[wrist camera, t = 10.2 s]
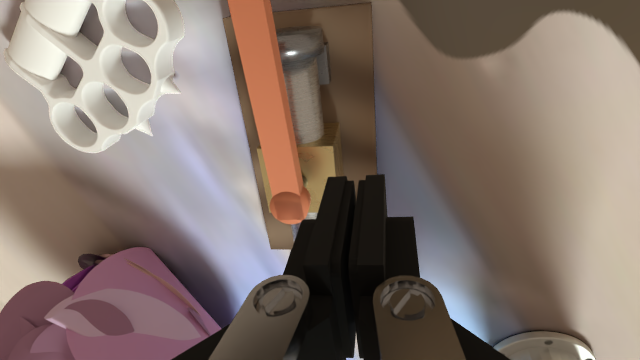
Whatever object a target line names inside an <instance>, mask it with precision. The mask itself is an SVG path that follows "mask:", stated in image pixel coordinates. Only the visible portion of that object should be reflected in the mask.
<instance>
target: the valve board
mask: <svg viewBox="0 0 640 360" xmlns="http://www.w3.org/2000/svg"><path fill="white" fill-rule="evenodd" d="M272 13H273V19H274V24H275V29H279V28H286V27H296V26H320V27H322V33H323V43H325V42H328V44H329V55H330V67H331V78H332V80H331V82H330V84H323V85H320V94H321V104H322V114H323V123H335V122H339V123H340V135H341V147H342V160H343V172H344V176H347V180H348V181H353V180H354V185H355V194H356V199H357V191H358V183H359V180H365V179H366V175H377V157H376V127H375V97H374V67H373V36H372V6H371V2H370V3H360V4H350V5H340V6H330V7H320V8H310V9H300V10H290V11H280V12H272ZM223 23H224V27H225V32H226V37H227V42H228V47H229V51H230V56H231V61H232V66H233V70H234V75H235V80H236V85H237V90H238V94H239V99H240V104H241V109H242V113H243V118H244V123H245V128H246V132H247V137H248V142H249V147H250V152H251V156H252V161H253V166H254V171H255V175H256V180H257V185H258V190H259V195H260V199H261V204H262V209H263V214H264V218H265V223H266V228H267V233H268V238H269V242H270V247H271V249H292V247H293V244H294V240H293V235H292V229H291V224H285V223H282V222H280V221H279V220H277V219H276V218H275V217H274V216H273V215H272V213H269V208H268V203H267V198H266V193H265V188H264V183H263V178H262V173H261V168H260V163H259V158H258V153H257V148H258V146H259V145H260V140H259V136H258V131H257V127H256V123H255V118H254V114H253V110H252V105H251V101H250V97H249V92H248V88H247V83H246V79H245V75H244V70H243V66H242V62H241V57H240V53H239V49H238V44H237V40H236V35H235V31H234V27H233V22H232V18H231V16H230V17H226V18H223Z"/></svg>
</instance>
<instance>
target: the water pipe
mask: <svg viewBox="0 0 640 360" xmlns="http://www.w3.org/2000/svg"><path fill="white" fill-rule="evenodd" d="M275 30H276V35H277V41H278V47H279V52H280V58H281V63H282V69H283V74H284V80H285V85H286V91H287V96H288V102H289V108H290V113H291V119H292V124H293V130H294V135H295V141H296V146H297V152H298V157H299V163H300V169H301V174H302V180H303V185H304V187H305V188H306V189H307V190H308V191H309V193H310V195H311V204H310V207H309V210H308V214H307V216H306V218H305V219H316V217H317V213H318V210H319V206H320V203H321V199H322V196H323V192H324V189H325V185H326V182H327V178H328V177H337V176H344V172H343V160H342V147H341V135H340V123H339V122H335V123H323V114H322V104H321V94H320V85H323V84H330V82H331V80H332V78H331V67H330V55H329V44H328V42H325V43H323V33H322V27H320V26H296V27H286V28H279V29H275ZM257 153H258V158H259V163H260V168H261V173H262V178H263V183H264V188H265V193H266V198H267V203H268V208H269V213H271V211H270V201H271V199H272V192H271V188H270V184H269V179H268V175H267V171H266V166H265V162H264V158H263V153H262V149H261V144H260V145H259V146H258V148H257ZM300 224H301V222H300V223H297V224H291V229H292V235H293V240H294V241H295V238H296V235H297V232H298V230H299V227H300ZM290 253H291V252H290Z"/></svg>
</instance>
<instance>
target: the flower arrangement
mask: <svg viewBox="0 0 640 360" xmlns="http://www.w3.org/2000/svg"><path fill="white" fill-rule="evenodd" d="M78 263H79V265H80V267H81V268H83V269H84V270H82V271H80V272H79V273H77V274H75V275H74V276H72V277H71V278H69V279H67V280H66V281H65V282H64V283H63V284H60V283H57V282H51V281H41V282H36V283H32V284H30V285H27V286H26V287H24V288H23V289H21V290H20V291H19V292H18V293H17V294H15V295H14V296H13V297H12V298H11V299H10V300H9V302H8V303H7V304H6V305H5V306H4V308H3V309H2V311H1V313H0V360H171V359H173V358H174V357H176V356H178V355H179V354H181V353H183V352H184V351H186V350H188V349H189V348H191V347H193V346H194V345H196V344H198V343H199V342H201V341H203V340H204V339H206V338H207V337H209V336H211V335H212V334H214V333H216V332H217V331H219V330H221V328H220V326H219V325H218V324H217V323H216V322H215V321H214V320H213V319H212V317H211V316H210V315H209V314H208V313H207V312H206V311H205V310H204V308H203V307H202V306H201V305H200V304H199V303H198V302H197V301H196V300H195V298H194V297H193V296H192V295H191V294H190V293H189V292H188V291H187V289H186V288H185V287H184V286H183V285H182V284H181V283H180V282H179V280H178V279H177V278H176V277H175V276H174V275H173V274H172V273H171V271H170V270H169V269H168V268H167V267H166V266H165V265H164V264H163V262H162V261H161V260H160V259H159V258H158V257H157V256H156V255H155V253H154V252H153V251H152V250H151V249H150V248H147V247H134V248H130V249H126V250H123V251H120V252H118V253H116V254H114V255H111V254H101V255H93V254H83V255H81V256H80V257H79V259H78Z"/></svg>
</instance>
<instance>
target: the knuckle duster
mask: <svg viewBox="0 0 640 360" xmlns="http://www.w3.org/2000/svg"><path fill="white" fill-rule="evenodd" d="M143 1H144V2H146V3H147V4H148V5H149V6H150V8H151V9H152V10H153V12H154V14H155V16H156V19H157V24H158V32H157V36H156V38H155V39H152V38H150V37H148V36H146V35H143V34H141V33H140V32H138V31H137V30H136V29H135V28H134V27H133V26H132V25H131V23H130V22H129V20H128V18H127V15H126V9H125V5H126V0H25V2H22V3H21V4H20V7H19V8H20V10H21V13H20V16H19V19H18V21H17V24H16V27H15V30H14V33H13V35H12V38H11V41H10V44H9V47H8V48H6V49H5V50H4V53H3V54H4V56H5V61H6V63H7V64H8V66H9V67H10V68H11V69H12V70H13V71H14V72H15V73H16V74H18V75H19V76H21V77H22V78H23V79H24V80H26V81H27V82H28V83H30V84H31V85H32V86H34V87H35V88H37V89H38V90H39V91H41V93H42V94H43V96H44V98H45V99H46V101H47V103H48V105H49V117H50V121H51V123H52V126H53V128H54V129H55V131H56V132H57V134H58V135H59V136H60V137H61V138H62V139H63V140H64V141H65V142H66V143H67V144H69V145H70V146H72V147H73V148H75V149H77V150H80V151H82V152H87V153H98V152H101V151H104V150H105V149H107V148H108V147H110V146H111V145H113V144H114V143H116V142H117V141H119V140H120V137H121V134H127V133H128V132H130V131H132V130H133V129H137V130H139V131H142V132H144V133H146V134H149V135H151V136H153V134H152V130H151V127H150V123H149V118H150V117H152V116H153V115H154V114H155V105H156V102H157V100H158V99H159V97H160V96H162V95H164V94H165V93H167V94H182V93H181V92H180V90H179V89H178V88H177V86H176V85H175V84H174V82H173V78H174V74H175V71H174V68H173V52H174V49H175V47H176V45H177V43H178V42H179V41H180V40H181V39H182V38H183V37H184V35H185V27H184V21H183V17H182V14H181V12H180V10H179V8H178V6H177V4H176V3H175V1H174V0H143ZM92 3H93V4H94V5H95V7H96V9H97V12H98V17H99V20H100V23H101V25H102V27H103V30H104V34H103V37H102V39H101V41H100V43H99V45H98V46H96V45H95V44H94V43H93V42H91V41H90V40H89V39H88V38H86V37H85V36H84V35H83V34H81V33H80V32H79V30H80V28H81V26H82V23H83V21H84V19H85V17H86V15H87V12H88V10H89V8H90V6H91V4H92ZM123 47H125V48H127V49H129V50H131V51H133V52H135V53H137V54H138V55H140V56H141V57H142V58H143V59H144V61H145V62H146V63H147V65H148V67H149V69H150V73H151V83H150V84H148V83H145V82H143V81H141V80H139V79H136V78H135V77H133V76H132V75H131V74H130V73H129V72H128V71H127V70H126V69H125V67H124V65H123V63H122V59H121V51H122V48H123ZM67 56H69V57H70V58H72V59H73V60H74V61H75V62H77V63H78V64H79V65H80V66H81V68H82V70H83V77H82V79H81V81H80V83H79V85H78V87H77V88H74V87H72V86H71V85H70V84H69V82H68V80H67V79H66V77H65V76H63V75H62V74H61V73H60V72H61V70H62V67H63V65H64V63H65V61H66V59H67ZM104 84H106V85H108V86H110V87H111V88H112V89H113V90H114V91H115V92H116V93H117V94H118V95H119V97H120V98H121V99H122V100H123V102H124V103H125V105H126V107H127V110H128V117H126V116H123V115H122V114H120V113H119V112H118V111H117V110H116V109H115V108H114V107H113V106H112V105H111V104H110V102H109V101H108V100H107V98H106V96H105V94H104V90H103V85H104ZM75 106H77V107H79V108H80V109H81V110H82V111H83V112H84V113H85V114H86V115H87V116H88V117H89V118H90V120H91V121H92V122H93V124H94V125H95V127H96V130H97V133H95V132H93V131H91V130H90V129H89V128H88V127H87V126H86V125H85V124H84V123H83V122H82V121H81V119H80V118H79V117H78V115H77V113H76V110H75Z"/></svg>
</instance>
